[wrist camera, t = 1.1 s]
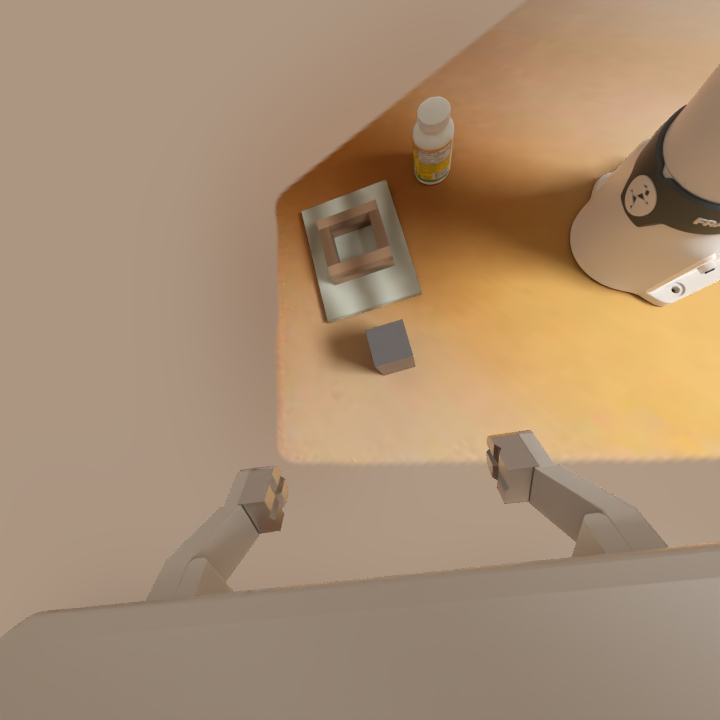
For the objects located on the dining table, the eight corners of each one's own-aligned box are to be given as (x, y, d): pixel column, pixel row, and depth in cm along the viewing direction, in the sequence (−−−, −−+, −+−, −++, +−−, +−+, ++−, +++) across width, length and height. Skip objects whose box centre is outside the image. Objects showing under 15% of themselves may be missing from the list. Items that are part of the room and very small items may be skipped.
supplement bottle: (443, 189, 46) (447, 132, 37) (409, 182, 48) (405, 126, 38) (455, 157, 47) (462, 94, 37) (421, 151, 48) (420, 89, 39)
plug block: (406, 336, 44) (402, 319, 36) (415, 366, 43) (413, 355, 35) (375, 345, 44) (365, 330, 37) (383, 375, 43) (374, 366, 36)
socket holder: (386, 184, 48) (383, 163, 44) (421, 294, 44) (421, 282, 40) (303, 215, 50) (293, 198, 46) (329, 323, 46) (320, 314, 42)
